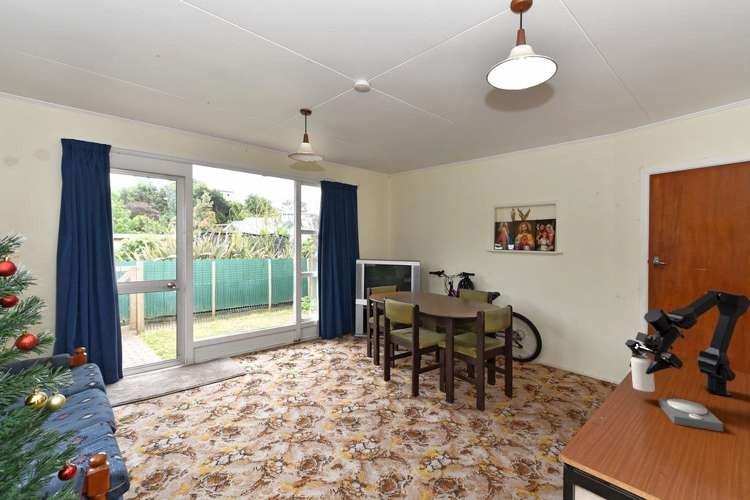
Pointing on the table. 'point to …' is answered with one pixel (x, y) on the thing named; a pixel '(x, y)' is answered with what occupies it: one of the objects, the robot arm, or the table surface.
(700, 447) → the table surface
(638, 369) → the can
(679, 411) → the scale
